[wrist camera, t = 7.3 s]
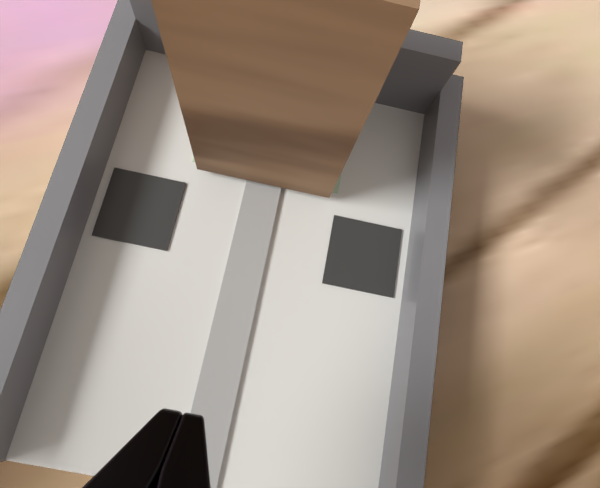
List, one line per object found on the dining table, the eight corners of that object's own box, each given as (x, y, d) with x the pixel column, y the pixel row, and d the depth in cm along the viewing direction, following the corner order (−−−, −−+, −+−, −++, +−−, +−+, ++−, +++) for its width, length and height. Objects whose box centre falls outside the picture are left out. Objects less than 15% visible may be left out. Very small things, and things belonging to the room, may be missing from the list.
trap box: (390, 521, 18) (441, 578, 13) (-8, 450, 17) (-107, 483, 12) (437, 112, 23) (485, 47, 19) (136, 42, 23) (105, -45, 18)
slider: (329, 198, 20) (419, 9, 9) (197, 169, 20) (135, -61, 9) (346, 102, 21) (441, -156, 11) (223, 74, 21) (196, -221, 10)
